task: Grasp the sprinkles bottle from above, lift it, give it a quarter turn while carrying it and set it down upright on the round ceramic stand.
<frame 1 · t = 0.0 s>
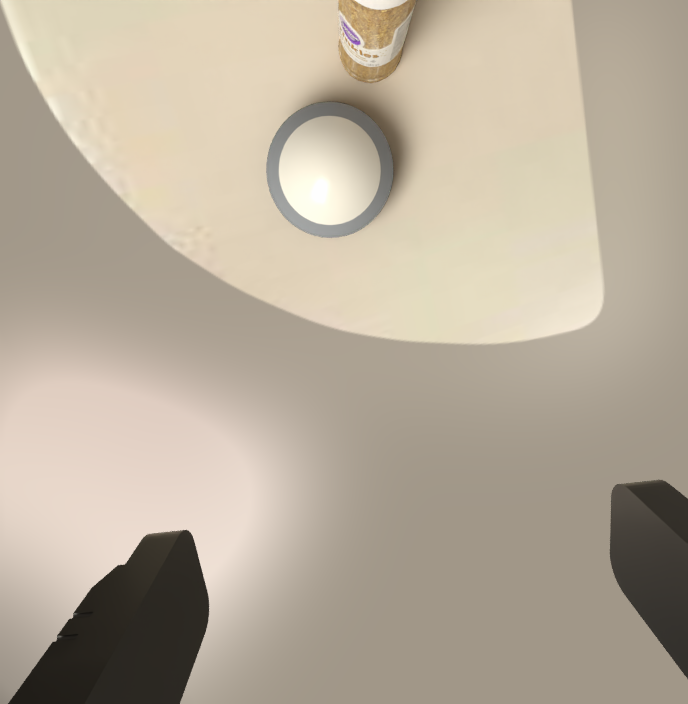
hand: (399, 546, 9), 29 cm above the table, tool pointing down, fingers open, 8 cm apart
stand: (331, 176, 34), on the table
sprinkles bottle: (370, 50, 32), on the table
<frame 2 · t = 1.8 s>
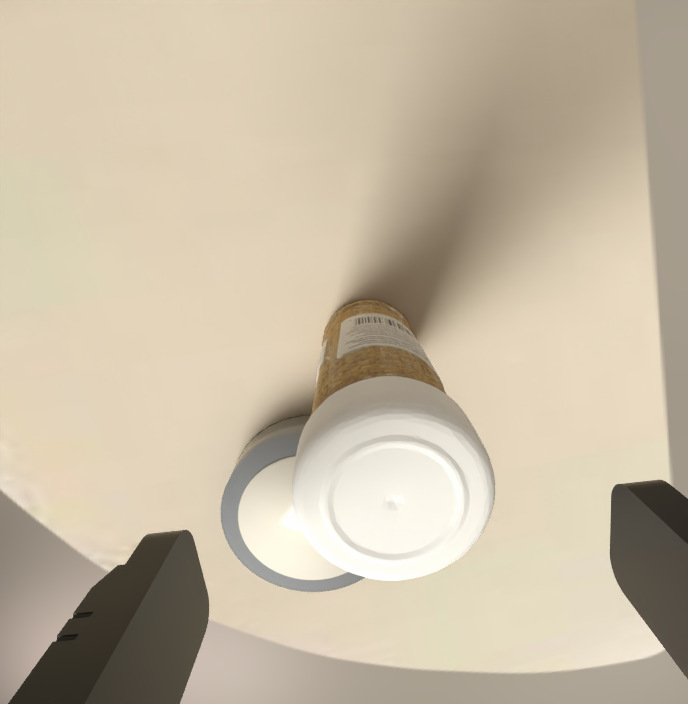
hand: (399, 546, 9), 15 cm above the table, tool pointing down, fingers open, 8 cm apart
stand: (314, 490, 25), on the table
sprinkles bottle: (368, 341, 23), on the table
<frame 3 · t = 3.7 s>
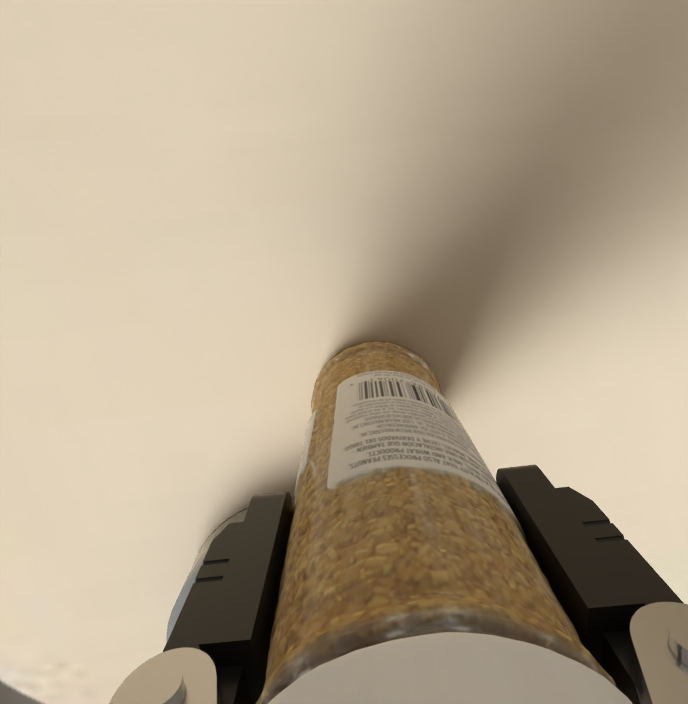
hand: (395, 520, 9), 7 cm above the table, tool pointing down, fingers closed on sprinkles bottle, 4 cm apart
stand: (302, 595, 18), on the table
sprinkles bottle: (376, 398, 16), on the table, touching gripper
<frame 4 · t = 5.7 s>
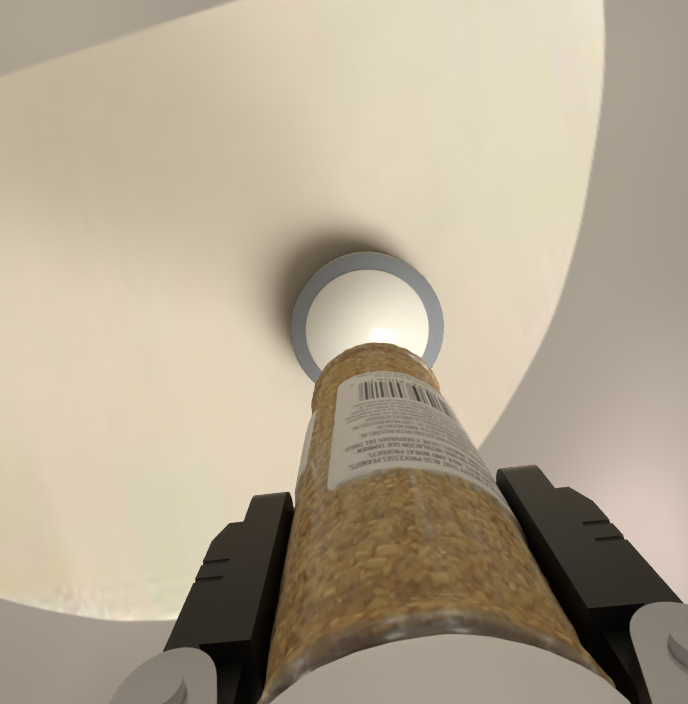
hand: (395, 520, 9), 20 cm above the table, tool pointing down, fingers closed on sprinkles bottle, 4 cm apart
stand: (365, 322, 29), on the table
sprinkles bottle: (377, 398, 16), point 13 cm above the table, touching gripper
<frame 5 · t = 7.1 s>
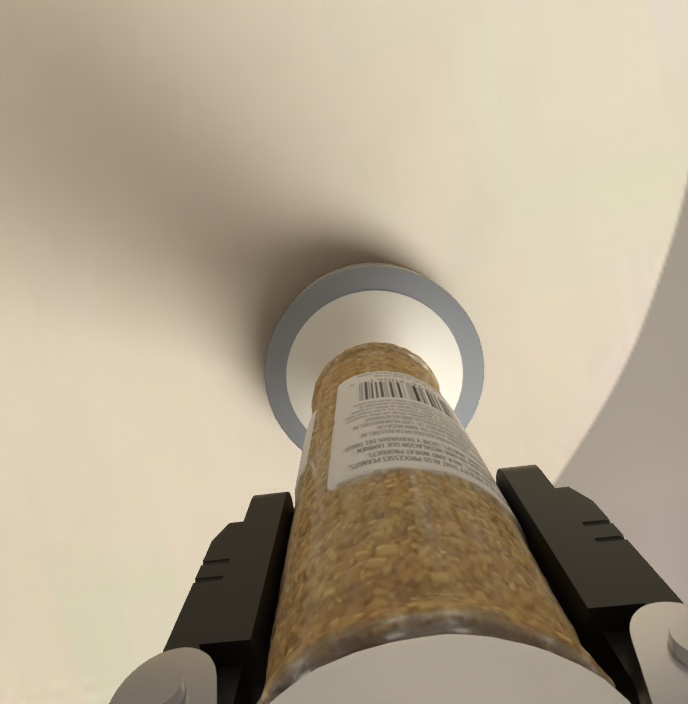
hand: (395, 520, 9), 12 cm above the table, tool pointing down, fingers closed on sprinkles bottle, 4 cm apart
stand: (371, 360, 21), on the table
sprinkles bottle: (377, 398, 16), point 5 cm above the table, touching gripper
when the fingers open (10 cm above the table, at t = 8.2 s): sprinkles bottle drops 1 cm, resting on stand.
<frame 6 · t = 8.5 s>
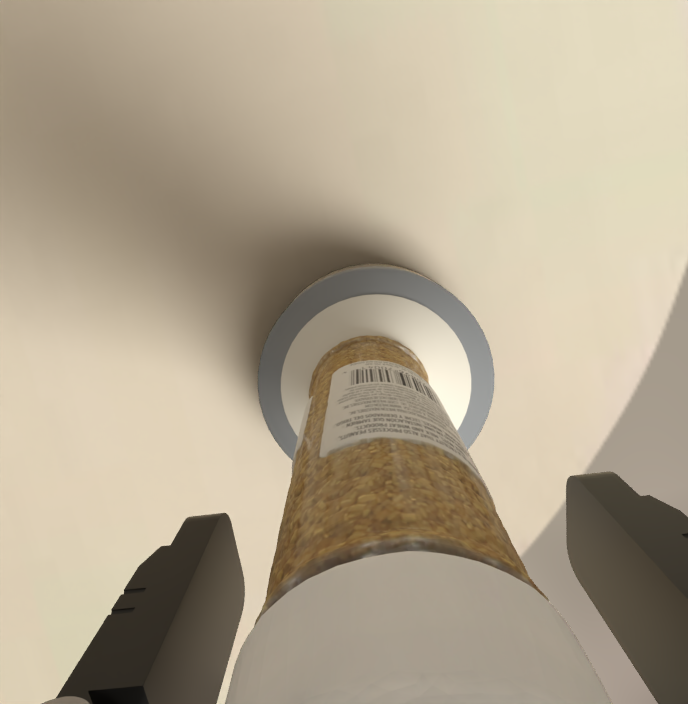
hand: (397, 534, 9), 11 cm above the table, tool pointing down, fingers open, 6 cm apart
stand: (372, 368, 20), on the table
sprinkles bottle: (370, 388, 17), point 2 cm above the table, touching stand
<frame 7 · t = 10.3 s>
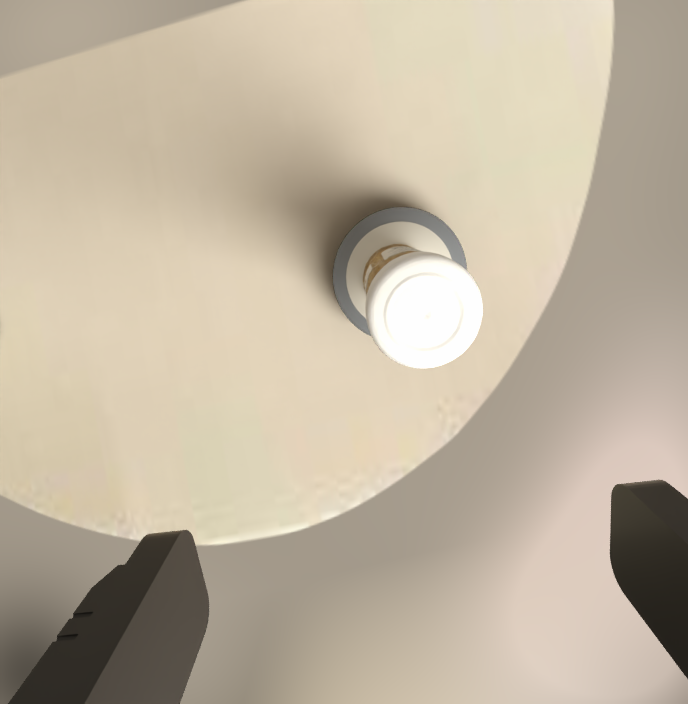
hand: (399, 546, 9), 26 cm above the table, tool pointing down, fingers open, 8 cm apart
stand: (396, 273, 33), on the table
sprinkles bottle: (396, 277, 30), point 2 cm above the table, touching stand
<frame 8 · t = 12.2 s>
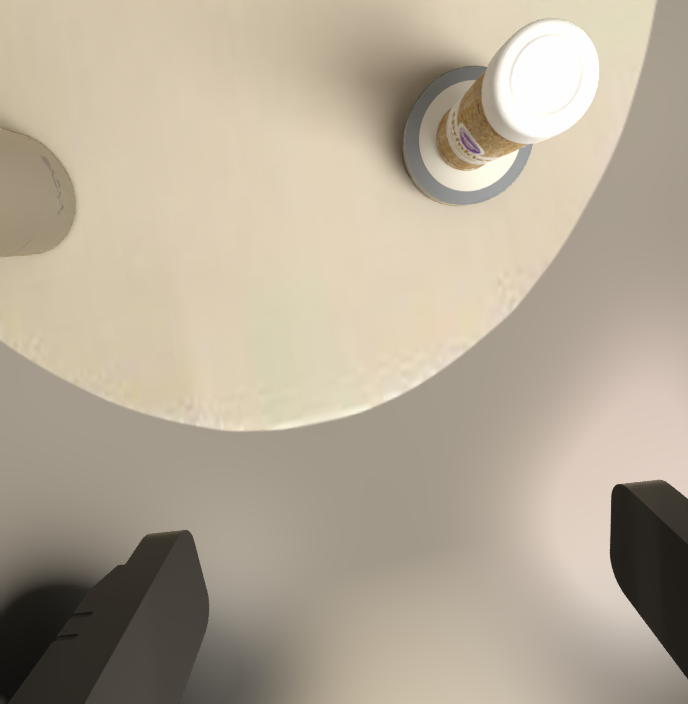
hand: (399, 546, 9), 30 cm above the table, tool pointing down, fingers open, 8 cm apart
stand: (461, 144, 34), on the table
sprinkles bottle: (466, 138, 32), point 2 cm above the table, touching stand
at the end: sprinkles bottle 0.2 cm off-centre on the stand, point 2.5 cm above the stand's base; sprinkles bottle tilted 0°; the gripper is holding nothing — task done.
